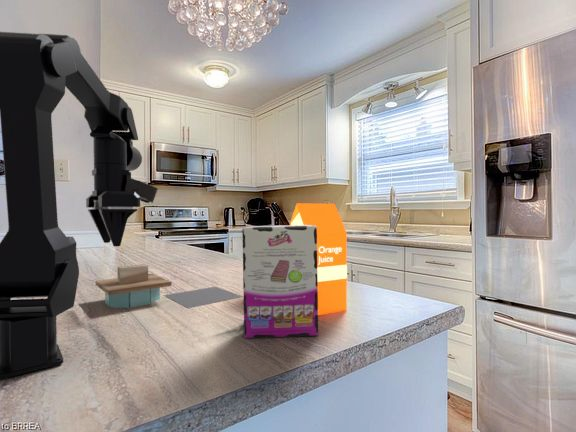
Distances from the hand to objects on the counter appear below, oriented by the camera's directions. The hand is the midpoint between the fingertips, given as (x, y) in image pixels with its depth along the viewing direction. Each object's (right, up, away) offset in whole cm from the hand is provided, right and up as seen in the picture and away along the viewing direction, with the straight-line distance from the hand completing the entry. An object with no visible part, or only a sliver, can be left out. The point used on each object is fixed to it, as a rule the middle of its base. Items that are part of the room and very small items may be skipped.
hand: (111, 244), depth 65 cm
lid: (+4, -8, 0) cm, 9 cm away
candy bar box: (+34, -12, -14) cm, 39 cm away
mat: (+17, -12, +3) cm, 21 cm away
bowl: (+4, -12, 0) cm, 13 cm away
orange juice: (+40, -12, -2) cm, 42 cm away
